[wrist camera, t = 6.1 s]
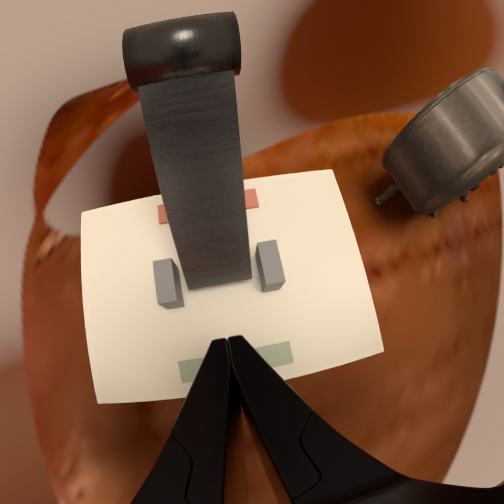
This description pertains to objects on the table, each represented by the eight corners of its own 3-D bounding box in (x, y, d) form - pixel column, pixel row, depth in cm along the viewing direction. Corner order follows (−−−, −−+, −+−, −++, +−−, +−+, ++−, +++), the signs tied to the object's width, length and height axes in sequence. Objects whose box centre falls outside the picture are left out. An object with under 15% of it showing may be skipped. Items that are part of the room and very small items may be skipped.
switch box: (354, 351, 17) (402, 350, 11) (125, 393, 15) (80, 409, 10) (315, 201, 20) (341, 150, 14) (107, 237, 18) (66, 197, 13)
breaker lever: (258, 284, 13) (237, 7, 6) (184, 297, 12) (118, 27, 6) (249, 251, 14) (227, 15, 8) (182, 263, 14) (132, 30, 7)
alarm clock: (433, 147, 22) (529, 19, 7) (469, 196, 21) (588, 85, 6) (350, 192, 20) (472, -11, 5) (394, 255, 19) (583, 103, 3)
